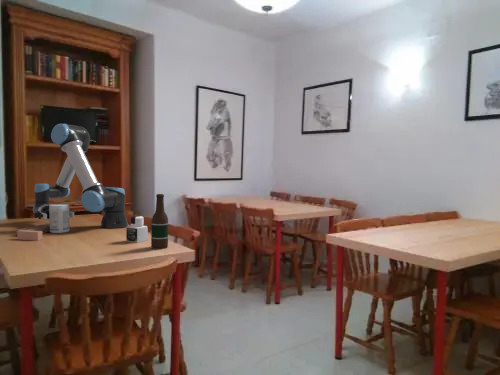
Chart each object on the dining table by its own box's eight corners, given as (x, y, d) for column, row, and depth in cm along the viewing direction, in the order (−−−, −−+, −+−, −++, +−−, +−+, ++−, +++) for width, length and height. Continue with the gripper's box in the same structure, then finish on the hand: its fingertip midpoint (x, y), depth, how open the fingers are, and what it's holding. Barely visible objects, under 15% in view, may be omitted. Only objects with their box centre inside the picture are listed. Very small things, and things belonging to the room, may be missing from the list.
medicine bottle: (126, 241, 176) (126, 216, 175) (137, 238, 182) (137, 215, 182) (137, 243, 173) (137, 217, 172) (147, 240, 179) (147, 216, 178)
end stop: (42, 239, 176) (42, 231, 176) (37, 240, 174) (37, 232, 173) (22, 238, 178) (22, 229, 178) (17, 239, 175) (17, 231, 175)
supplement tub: (67, 229, 203) (67, 203, 203) (71, 232, 196) (71, 205, 195) (47, 231, 197) (47, 204, 196) (51, 234, 190) (51, 205, 189)
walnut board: (55, 229, 203) (55, 224, 203) (26, 236, 182) (26, 230, 182) (46, 229, 204) (46, 223, 204) (16, 235, 183) (16, 229, 183)
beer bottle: (164, 249, 160) (164, 195, 159) (147, 248, 162) (147, 194, 161) (171, 245, 168) (171, 193, 167) (155, 244, 170) (155, 193, 168)
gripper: (70, 216, 219) (84, 220, 204) (22, 220, 201) (33, 224, 186) (70, 203, 219) (84, 207, 204) (22, 206, 201) (33, 210, 186)
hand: (60, 215), depth 195 cm, fingers open, 13 cm apart
